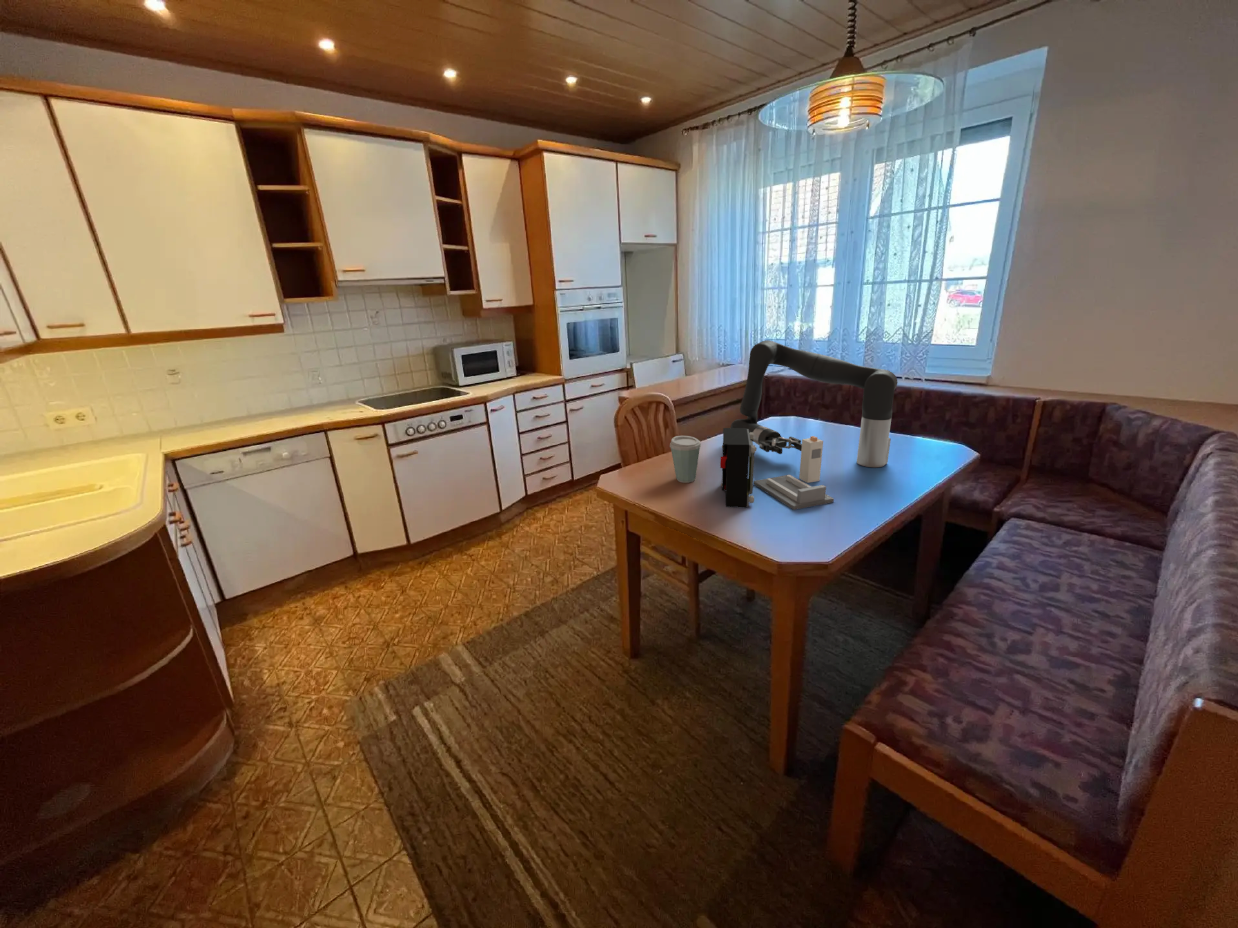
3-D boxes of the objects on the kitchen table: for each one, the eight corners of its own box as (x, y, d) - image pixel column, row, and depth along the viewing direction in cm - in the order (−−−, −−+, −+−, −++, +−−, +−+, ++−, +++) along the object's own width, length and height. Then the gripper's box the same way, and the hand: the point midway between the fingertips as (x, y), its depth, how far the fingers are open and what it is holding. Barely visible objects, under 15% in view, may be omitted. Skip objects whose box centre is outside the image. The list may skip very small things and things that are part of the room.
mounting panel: (789, 477, 169) (790, 463, 167) (833, 502, 149) (835, 486, 147) (753, 484, 165) (754, 469, 163) (793, 509, 145) (794, 493, 143)
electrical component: (754, 507, 148) (756, 444, 141) (719, 506, 150) (720, 444, 143) (751, 485, 164) (753, 428, 157) (720, 484, 166) (721, 428, 159)
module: (811, 476, 169) (814, 434, 164) (820, 481, 165) (824, 437, 160) (799, 478, 168) (802, 435, 163) (808, 483, 163) (811, 439, 158)
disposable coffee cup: (704, 476, 174) (704, 435, 169) (695, 487, 165) (695, 444, 160) (676, 473, 179) (675, 433, 173) (666, 483, 169) (665, 442, 164)
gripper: (750, 430, 185) (775, 442, 170) (783, 426, 188) (810, 437, 174) (749, 449, 187) (773, 462, 173) (781, 444, 191) (808, 457, 176)
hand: (792, 449), depth 173 cm, fingers open, 8 cm apart
